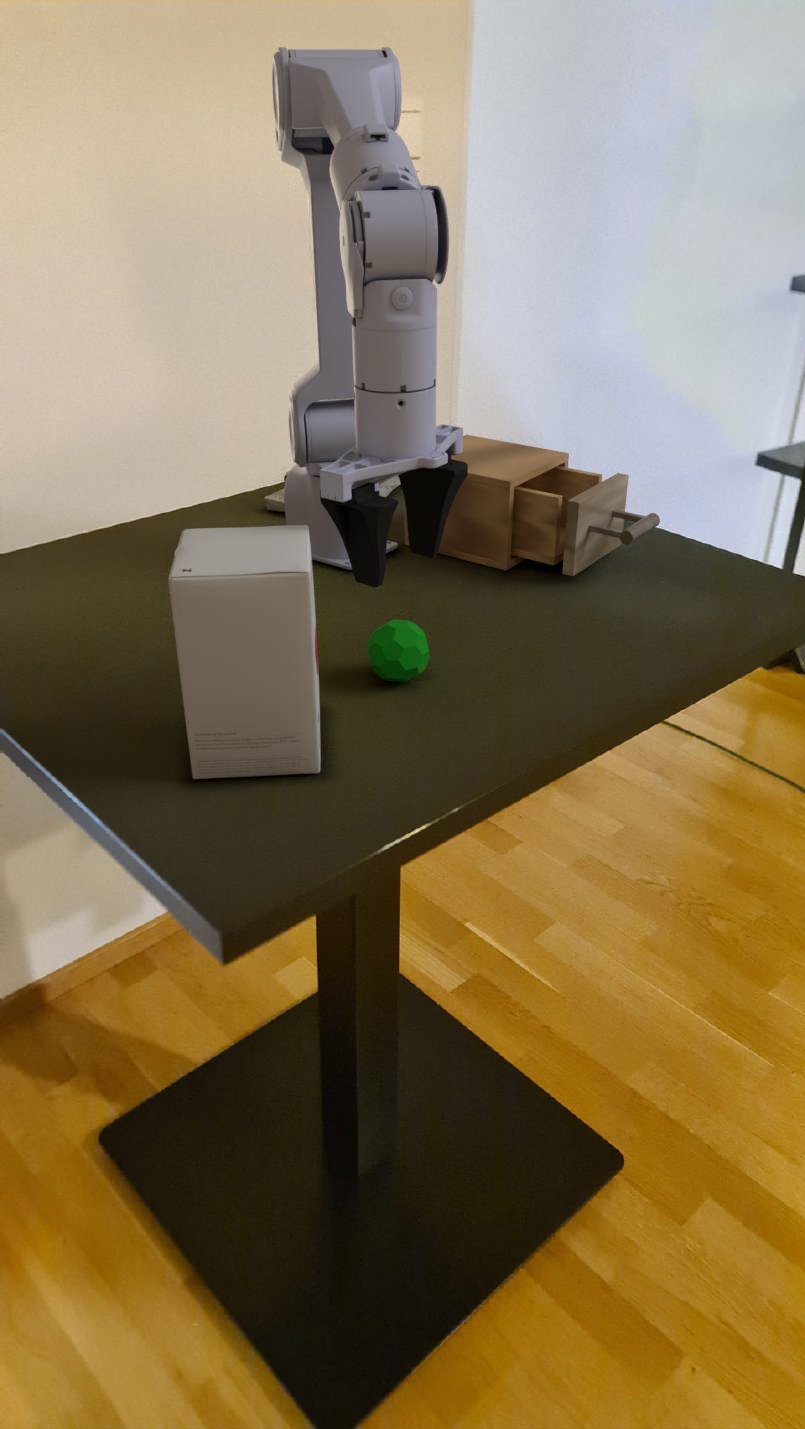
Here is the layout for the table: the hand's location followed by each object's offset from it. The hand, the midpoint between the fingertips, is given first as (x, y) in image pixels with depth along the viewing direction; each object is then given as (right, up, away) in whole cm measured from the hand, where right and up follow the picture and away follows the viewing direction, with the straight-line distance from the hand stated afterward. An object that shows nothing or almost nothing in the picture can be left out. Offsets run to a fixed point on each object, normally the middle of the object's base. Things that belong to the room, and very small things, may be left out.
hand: (397, 568), depth 77 cm
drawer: (+17, +5, +26) cm, 31 cm away
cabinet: (+9, +7, +31) cm, 33 cm away
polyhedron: (0, -8, +5) cm, 10 cm away
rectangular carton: (-10, -13, -4) cm, 17 cm away
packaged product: (-7, +15, +45) cm, 48 cm away
